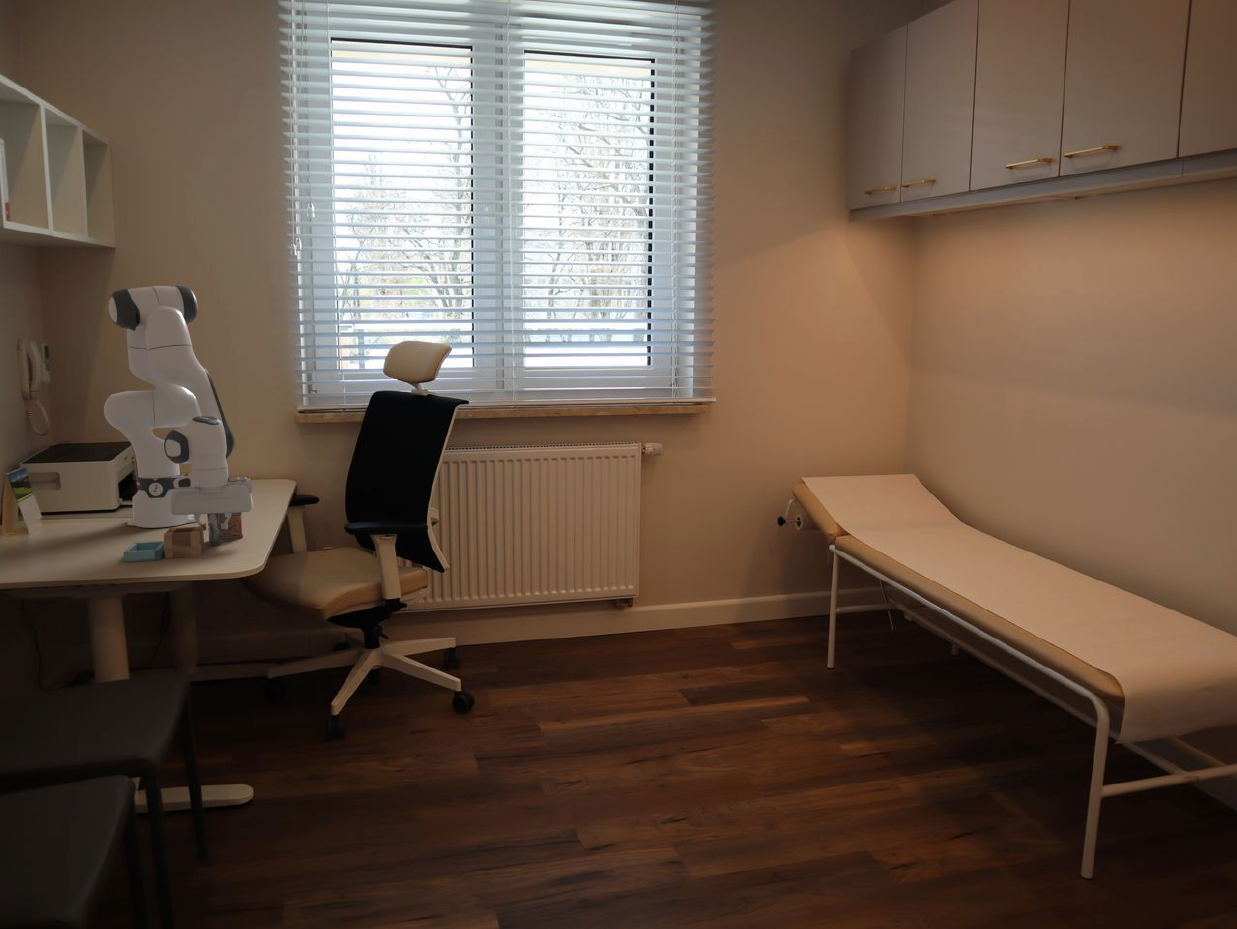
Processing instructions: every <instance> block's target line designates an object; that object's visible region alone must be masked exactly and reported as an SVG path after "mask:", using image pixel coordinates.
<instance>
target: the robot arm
mask: <svg viewBox="0 0 1237 929" xmlns="http://www.w3.org/2000/svg"><path fill="white" fill-rule="evenodd" d="M198 307H199V306H198V300H197V298H196V295H195V293H194V291H192V289H191V288H190V287H189V286H183V285H175V286H173V285H172V286H171V285H151V286H145V287H144V286H143V287H136V288H129V289H127V288H122V289H117V290H115V291H113V292H112V293H111V295H110V296H109V301H108V312H109V315H110V317H111V319H112V322H113V323H114V325H116V326H118V327H119V328H121V329H126V345H127V355H128V356H127V357H128V368H129V370H130V372H131V374H133V375H134V376H135V377H136V378H138V379H140V380H142V381H145V382H148V383H149V384H151V385H153V387H154V388H155V389H153V390H151V389H150V390H149V389H148V390H126V391H121V392H117V393H113V394H112V393H111V394H110V395H109V396H108V397H107V399H106V401H105V403H104V405H103V413H104V417H105V420H106V421H107V423H108V424H110V426H112V428H114V429H116V430H118V432H120V433H121V434H123V435H124V436H125V438H127V439H128V441H129V442H130V444H131V446H132V448H133V450H134V454H135V459H136V466H137V468H136V469H137V477H136V487H137V492H136V493H135V494H134V495H133V496H132V519H129V520H128V521H127V524H126V525H127V526H133V527H134V526H135V527H138V528H144V529H145V528H149V529H150V528H151V529H152V528H153V529H154V528H168V527H174V526H181V525H185V524H191V523H195V522H196V523H197V524H198V527H203V532H204V531H205V532H206V531H207V522H203V521H202V520H201V517H202V515H207V514H216V513H225V517H227V519H226V521H225V522H222V523H221V530H227V529H228V521H229V519H230V517H231V516H232V514H231V513H238V512H242V513H249V512H251V511H253V509H254V501H253V500H254V499H253V495H252V493H253V490H254V483H253V481H252V480H251V479H250V478H247V477H245V476H244V477H243V476H241V477H229V466H228V461H227V459H228V458H229V457H230V456H231V454H232V453H233V451H234V450H235V446H236V440H235V436H234V434H233V431H232V430H231V427H230V426H229V424H228V422H227V419H226V416H225V413H224V411H223V408H222V405H221V402H220V399H219V397H218V392H217V390H216V387H215V384H214V381H213V379H212V377H211V375H210V373H209V371H208V370H207V368H206V367H204V366H203V365H202V364H201V363H200V362H199V360H198V358H197V357H196V354H195V352H194V349H193V348H194V347H193V343H192V339H191V334H190V331H189V328H188V325H187V324H190V323H192V322H194V320H195V319H196V317H197V316H198V309H199V308H198ZM163 428H164V429H165V428H167V429H169V428H171V430H170V431H169V432H168V433H167V434H166V435H165V438H164V439H162V438H159V437H158V436H156V435H155V434H154V431H153V430H155V429H163ZM172 428H174V429H172ZM187 464H189V465H190V464H191V472H190V473H186V474H183V475H182V474H181V471H180V465H187Z"/></svg>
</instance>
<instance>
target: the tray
mask: <svg viewBox="0 0 1237 929" xmlns="http://www.w3.org/2000/svg"><path fill="white" fill-rule="evenodd" d="M163 557H165V546H164V540H157V541H155V540H154V541H153V540H152V541H138V542H136V541H135V542H132V544H131V545H129V547H128V548H126V550H125V551H124V552H123V560H124V561H123V562H124V563H134V562H153V561H154V562H155V561H161V560H162V558H163Z"/></svg>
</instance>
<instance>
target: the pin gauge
mask: <svg viewBox="0 0 1237 929" xmlns="http://www.w3.org/2000/svg"><path fill="white" fill-rule="evenodd" d="M206 516H207V532H208V542H209V544H208V545H209V547H219V546H222V545H221V544H222V543H221V541H220V526H219V513H216V514H206Z"/></svg>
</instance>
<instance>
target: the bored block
mask: <svg viewBox="0 0 1237 929" xmlns="http://www.w3.org/2000/svg"><path fill="white" fill-rule="evenodd" d="M204 534H205V533H204V531H203V527H199V526H187V527H170V528H168V530H167V531H165V532H164V534H163V541H164V546H165V554H164V557H165V559H174V558H175V559H176V558H189V557H190V558H192V557H200V556H201V555H202V553H204V550H205V549H206V548H205V538H204Z"/></svg>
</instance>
